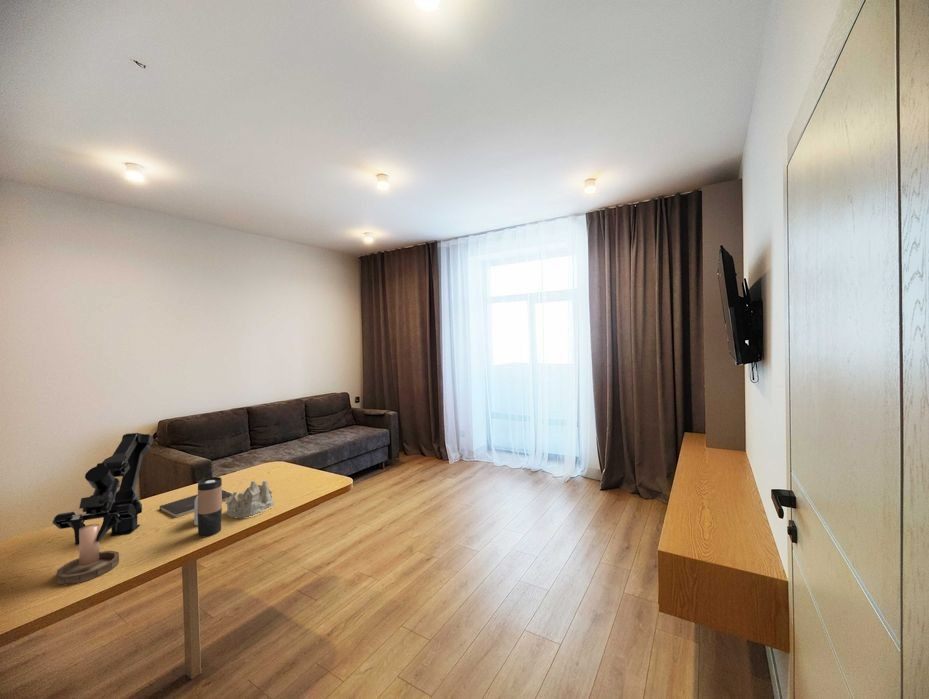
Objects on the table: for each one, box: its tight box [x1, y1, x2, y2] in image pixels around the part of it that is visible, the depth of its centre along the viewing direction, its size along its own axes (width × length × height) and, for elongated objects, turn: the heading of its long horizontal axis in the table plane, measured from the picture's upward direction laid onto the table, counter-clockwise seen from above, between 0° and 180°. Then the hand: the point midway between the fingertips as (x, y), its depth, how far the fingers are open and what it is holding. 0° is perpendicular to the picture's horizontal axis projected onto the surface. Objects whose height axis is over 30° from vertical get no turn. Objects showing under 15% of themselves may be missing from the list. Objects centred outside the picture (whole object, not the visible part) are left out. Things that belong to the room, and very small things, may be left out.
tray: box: [55, 550, 120, 585], centre depth 112 cm, size 14×14×2 cm
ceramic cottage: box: [225, 480, 275, 519], centre depth 155 cm, size 16×16×15 cm
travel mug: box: [197, 476, 223, 538], centre depth 136 cm, size 8×8×20 cm
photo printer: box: [193, 496, 198, 526], centre depth 146 cm, size 10×4×12 cm, turn 12°
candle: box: [78, 523, 100, 566], centre depth 112 cm, size 4×4×11 cm
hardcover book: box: [159, 489, 232, 518], centre depth 161 cm, size 16×23×2 cm
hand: (87, 543), depth 111 cm, fingers closed on candle, 4 cm apart
